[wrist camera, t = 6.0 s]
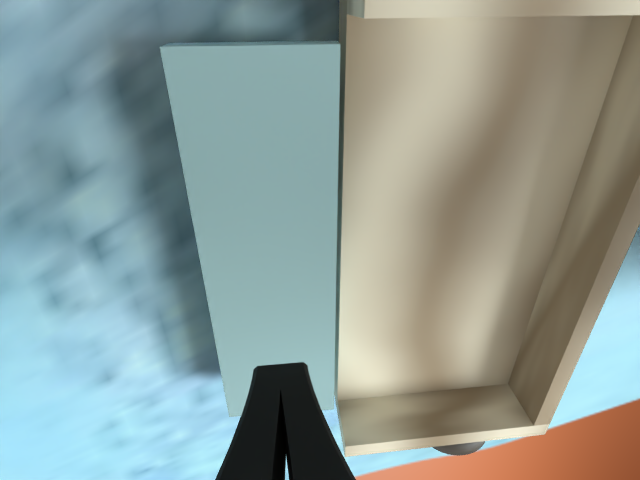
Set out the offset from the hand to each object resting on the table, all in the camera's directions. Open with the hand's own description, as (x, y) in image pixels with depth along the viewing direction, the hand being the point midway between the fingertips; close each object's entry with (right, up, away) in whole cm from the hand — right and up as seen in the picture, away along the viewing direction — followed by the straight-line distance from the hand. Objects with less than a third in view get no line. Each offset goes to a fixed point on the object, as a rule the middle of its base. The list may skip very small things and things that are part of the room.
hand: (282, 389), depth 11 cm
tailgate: (+2, +3, +5) cm, 7 cm away
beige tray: (+7, +4, +7) cm, 11 cm away
